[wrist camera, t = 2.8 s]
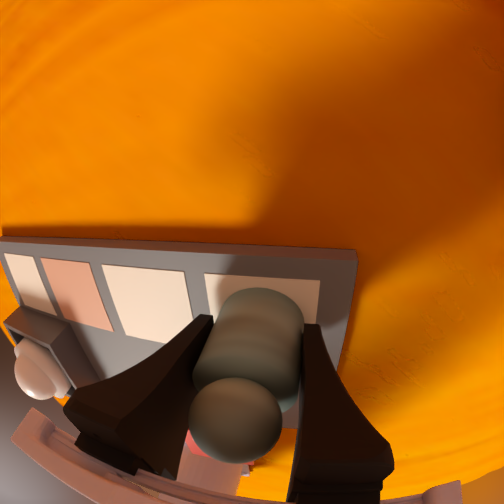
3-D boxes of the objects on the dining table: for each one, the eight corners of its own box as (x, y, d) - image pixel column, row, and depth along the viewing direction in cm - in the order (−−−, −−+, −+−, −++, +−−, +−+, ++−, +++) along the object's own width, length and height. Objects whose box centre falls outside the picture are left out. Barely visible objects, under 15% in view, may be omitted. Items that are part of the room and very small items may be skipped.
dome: (86, 389, 19) (62, 425, 15) (47, 370, 20) (24, 399, 16) (56, 341, 16) (24, 379, 13) (19, 324, 18) (-10, 355, 14)
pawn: (301, 354, 14) (284, 483, 8) (224, 347, 14) (180, 464, 8) (307, 290, 12) (293, 445, 6) (216, 284, 13) (146, 417, 6)
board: (319, 418, 18) (316, 460, 15) (57, 358, 23) (39, 380, 20) (355, 249, 12) (368, 299, 9) (1, 236, 17) (-28, 255, 13)
